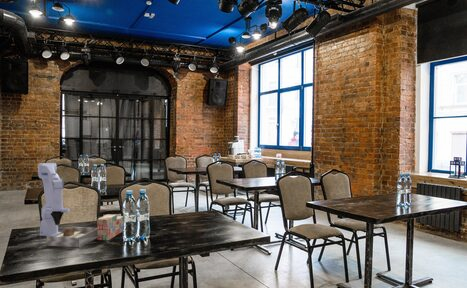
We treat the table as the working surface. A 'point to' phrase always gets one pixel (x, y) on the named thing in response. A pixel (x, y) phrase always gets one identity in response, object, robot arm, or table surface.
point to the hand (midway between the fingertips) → (57, 224)
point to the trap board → (73, 237)
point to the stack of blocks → (109, 226)
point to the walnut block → (68, 231)
